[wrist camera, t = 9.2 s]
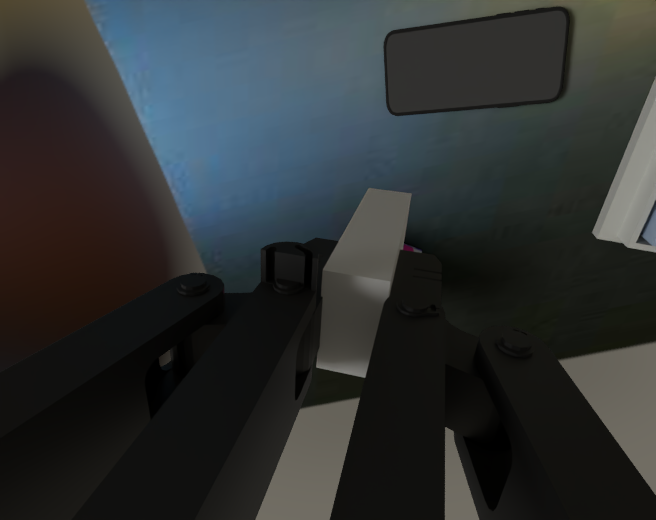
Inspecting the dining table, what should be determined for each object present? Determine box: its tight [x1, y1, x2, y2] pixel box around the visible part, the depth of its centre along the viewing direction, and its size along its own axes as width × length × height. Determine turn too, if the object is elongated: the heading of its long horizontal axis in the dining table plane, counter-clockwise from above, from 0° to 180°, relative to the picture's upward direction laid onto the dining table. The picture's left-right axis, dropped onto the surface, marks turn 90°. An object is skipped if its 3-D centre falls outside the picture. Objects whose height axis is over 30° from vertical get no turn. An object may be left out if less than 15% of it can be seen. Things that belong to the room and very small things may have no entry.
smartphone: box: [384, 7, 570, 116], centre depth 38 cm, size 7×1×15 cm
